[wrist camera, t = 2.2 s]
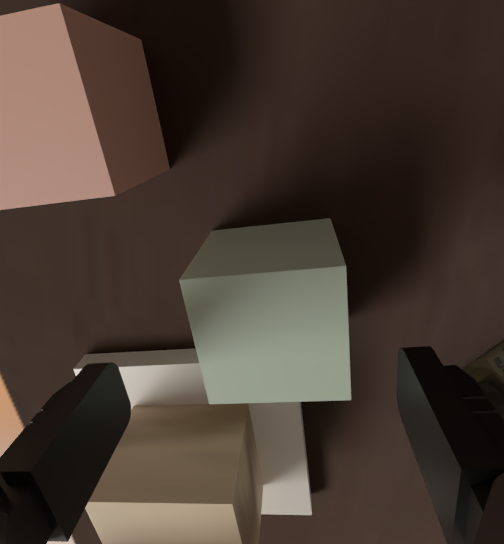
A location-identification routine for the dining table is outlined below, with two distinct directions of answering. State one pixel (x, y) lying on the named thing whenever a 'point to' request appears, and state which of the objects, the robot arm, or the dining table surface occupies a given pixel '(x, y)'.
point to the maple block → (181, 478)
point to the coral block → (73, 109)
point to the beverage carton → (490, 376)
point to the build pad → (191, 390)
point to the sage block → (270, 314)
